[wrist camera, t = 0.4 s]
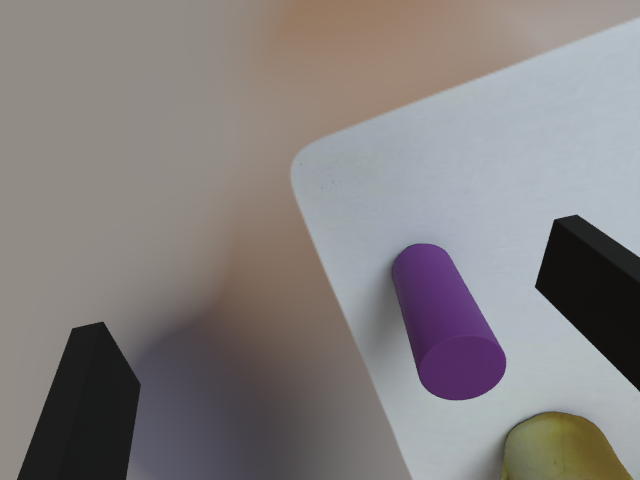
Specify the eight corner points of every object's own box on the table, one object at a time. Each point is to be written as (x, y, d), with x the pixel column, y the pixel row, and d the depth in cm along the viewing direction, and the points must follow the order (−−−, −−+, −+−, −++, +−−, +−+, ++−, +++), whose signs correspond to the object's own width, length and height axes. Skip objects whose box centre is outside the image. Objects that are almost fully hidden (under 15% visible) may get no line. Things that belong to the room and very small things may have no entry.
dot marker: (392, 236, 30) (424, 334, 20) (452, 237, 29) (515, 335, 20) (387, 287, 31) (414, 400, 22) (444, 288, 31) (497, 401, 21)
